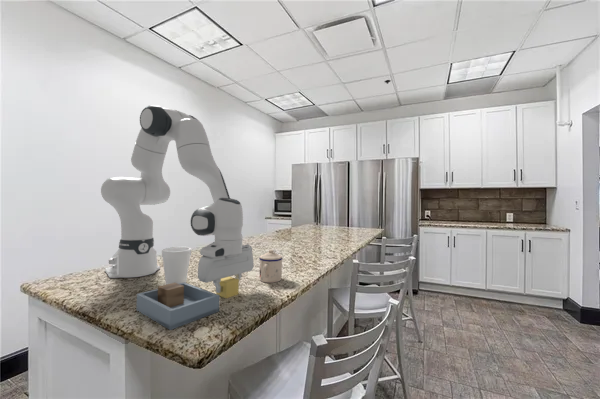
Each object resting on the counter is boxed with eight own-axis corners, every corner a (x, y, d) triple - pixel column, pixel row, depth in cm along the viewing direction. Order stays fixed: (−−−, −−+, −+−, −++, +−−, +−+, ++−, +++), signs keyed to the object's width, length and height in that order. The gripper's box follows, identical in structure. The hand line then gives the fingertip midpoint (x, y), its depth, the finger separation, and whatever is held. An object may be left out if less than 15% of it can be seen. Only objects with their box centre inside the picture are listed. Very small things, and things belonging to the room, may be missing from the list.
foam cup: (179, 291, 91) (179, 252, 91) (155, 288, 93) (155, 250, 93) (195, 282, 100) (196, 247, 100) (173, 280, 102) (174, 246, 102)
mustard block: (216, 295, 88) (216, 279, 88) (228, 291, 92) (229, 276, 92) (226, 298, 85) (226, 282, 85) (238, 294, 89) (238, 279, 89)
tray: (136, 310, 75) (136, 294, 75) (183, 296, 86) (184, 282, 86) (170, 330, 64) (170, 311, 64) (219, 311, 75) (219, 295, 75)
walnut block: (157, 304, 77) (157, 286, 77) (174, 299, 81) (174, 282, 81) (166, 308, 74) (166, 290, 74) (183, 303, 78) (184, 285, 78)
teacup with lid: (263, 275, 112) (264, 247, 112) (284, 277, 110) (285, 248, 110) (252, 284, 100) (252, 252, 100) (275, 286, 98) (276, 254, 98)
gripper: (245, 242, 99) (244, 280, 99) (195, 250, 83) (194, 295, 83) (258, 244, 95) (257, 283, 95) (207, 253, 79) (206, 300, 79)
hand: (227, 289), depth 89 cm, fingers closed on mustard block, 5 cm apart
